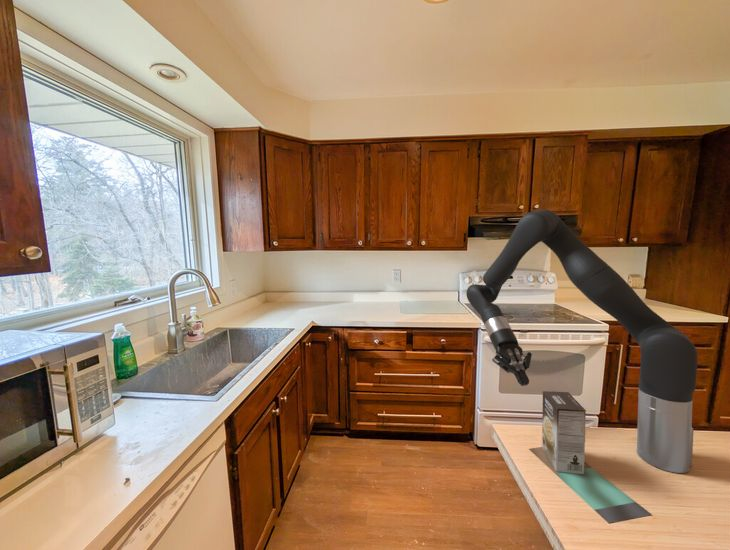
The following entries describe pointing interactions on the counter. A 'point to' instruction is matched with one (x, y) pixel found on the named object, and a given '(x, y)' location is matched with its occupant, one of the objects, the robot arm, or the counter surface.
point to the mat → (597, 492)
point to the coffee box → (563, 431)
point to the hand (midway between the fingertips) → (525, 384)
